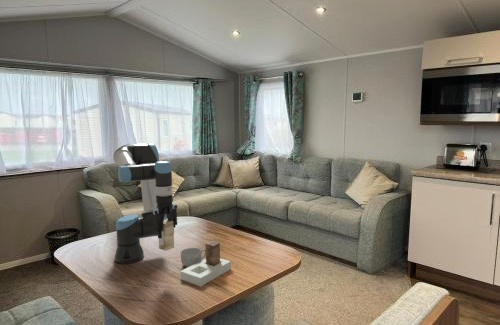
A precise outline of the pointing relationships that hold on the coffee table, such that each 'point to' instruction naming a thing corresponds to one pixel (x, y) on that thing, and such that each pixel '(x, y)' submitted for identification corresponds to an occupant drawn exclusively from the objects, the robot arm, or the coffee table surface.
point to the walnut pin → (212, 253)
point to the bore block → (204, 272)
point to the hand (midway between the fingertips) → (166, 242)
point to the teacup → (191, 256)
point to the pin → (168, 235)
